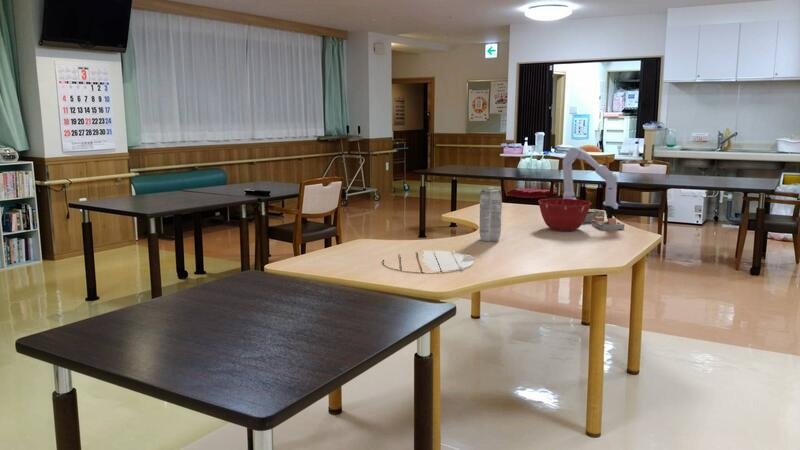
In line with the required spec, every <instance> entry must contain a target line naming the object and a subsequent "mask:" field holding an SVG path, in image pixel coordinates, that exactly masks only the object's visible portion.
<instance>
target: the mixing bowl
mask: <svg viewBox="0 0 800 450" xmlns="http://www.w3.org/2000/svg"><path fill="white" fill-rule="evenodd" d="M576 199H577V198H576ZM576 199H563V198H541V199H538V205H539V209H540V213H541V216H542V219H543V221H544V223H545V225H546V226H547V227H548V228H550V229H551V230H553V231H558V232H573V231H576V230H578V229H579V228H580V227H581V226H582V225H583V224H584V223H583V222H584V220H585V218H586V216H587V214H588V211H589V209H591V208H590V207H591V205H592V202H590V201H587V200H583V199H577V200H576Z"/></svg>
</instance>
